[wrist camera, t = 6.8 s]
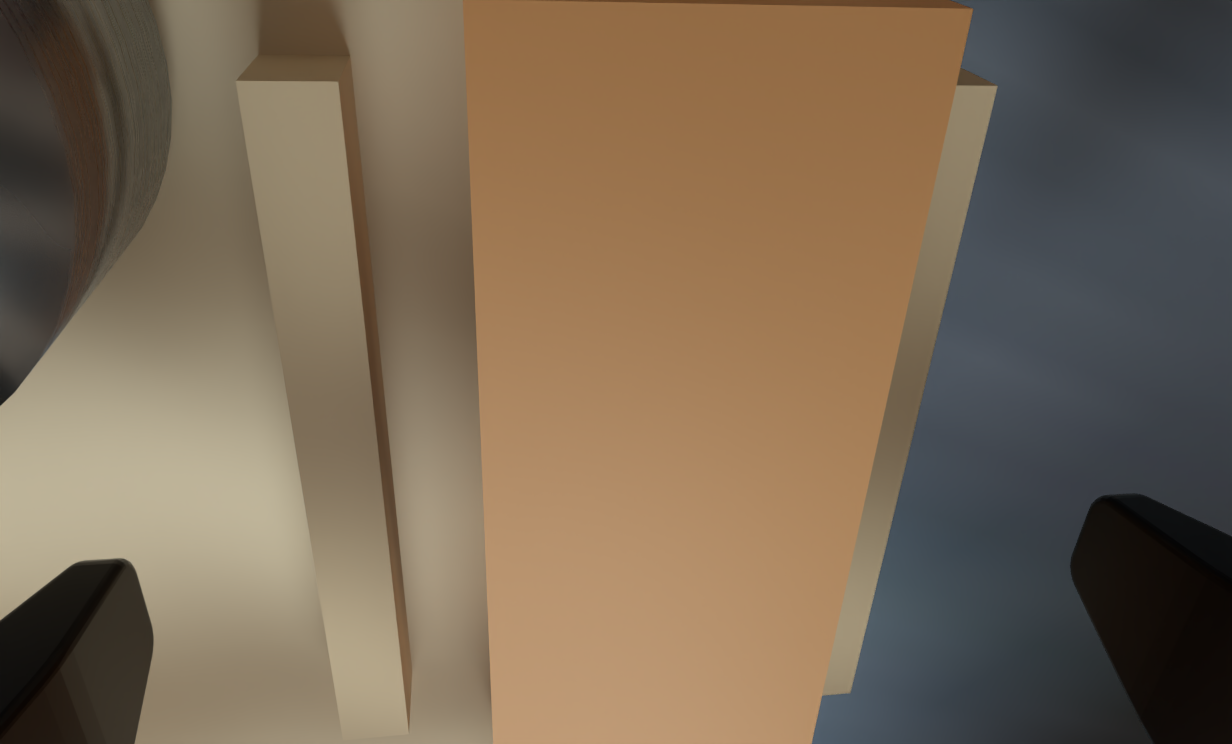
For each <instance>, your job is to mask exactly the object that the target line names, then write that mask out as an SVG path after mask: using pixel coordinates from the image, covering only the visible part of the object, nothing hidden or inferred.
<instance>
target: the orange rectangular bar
mask: <svg viewBox="0 0 1232 744" xmlns="http://www.w3.org/2000/svg"><path fill="white" fill-rule="evenodd" d="M972 13H973V9H972V8H970V7H967V6H964V5H961V4H959V3H956V2H953V1H950V0H463V19H464V44H465V68H466V93H467V117H468V142H469V166H470V191H471V215H472V240H473V264H474V288H475V313H476V337H477V362H478V386H479V411H480V435H481V460H482V484H483V509H484V533H485V558H486V582H487V607H488V631H489V656H490V680H491V704H492V729H493V744H812V739H813V734H814V730H815V725H816V721H817V716H818V712H819V707H820V703H821V698H822V694H823V689H824V685H825V680H826V675H827V671H828V666H829V662H830V657H831V653H832V648H833V644H834V639H835V635H836V630H837V625H838V621H839V616H840V612H841V607H842V603H843V598H844V594H845V589H846V585H847V580H848V576H849V571H850V566H851V562H852V557H853V553H854V548H855V544H856V539H857V535H858V530H859V526H860V521H861V517H862V512H863V507H864V503H865V498H866V494H867V489H868V485H869V480H870V476H871V471H872V467H873V462H874V458H875V453H876V448H877V444H878V439H879V435H880V430H881V426H882V421H883V417H884V412H885V408H886V403H887V398H888V394H889V389H890V385H891V380H892V376H893V371H894V367H895V362H896V358H897V353H898V349H899V344H900V339H901V335H902V330H903V326H904V321H905V317H906V312H907V308H908V303H909V299H910V294H911V290H912V285H913V280H914V276H915V271H916V267H917V262H918V258H919V253H920V249H921V244H922V240H923V235H924V231H925V226H926V221H927V217H928V212H929V208H930V203H931V199H932V194H933V190H934V185H935V181H936V176H937V172H938V167H939V162H940V158H941V153H942V149H943V144H944V140H945V135H946V131H947V126H948V122H949V117H950V112H951V108H952V103H953V99H954V94H955V90H956V85H957V81H958V76H959V72H960V67H961V63H962V58H963V53H964V49H965V44H966V40H967V35H968V31H969V26H970V22H971V17H972Z"/></svg>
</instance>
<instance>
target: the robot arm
mask: <svg viewBox="0 0 1232 744" xmlns="http://www.w3.org/2000/svg"><path fill="white" fill-rule="evenodd" d="M1070 568H1071V576H1072V580H1073V583H1074V585H1075V587H1076V590H1077V592H1078V594H1079V596H1080V598H1081V600H1082V602H1083V604H1084V606H1085V609H1086V611H1087V613H1088V615H1089V617H1090V619H1091V621H1092V623H1093V625H1094V628H1095V630H1096V632H1097V634H1098V636H1099V638H1100V640H1101V642H1102V644H1103V646H1104V649H1105V651H1106V653H1107V655H1108V657H1109V659H1110V661H1111V663H1112V665H1113V668H1114V670H1115V672H1116V674H1117V676H1118V678H1119V680H1120V682H1121V684H1122V687H1123V689H1124V691H1125V693H1126V695H1127V697H1128V699H1129V701H1130V703H1131V705H1132V707H1133V709H1134V711H1135V713H1136V715H1137V717H1138V719H1139V721H1140V722H1141V724H1142V726H1143V728H1144V729H1145V731H1146V733H1147V735H1148V736H1149V738H1150V740H1151V742H1152V744H1232V536H1230V535H1227V534H1225V533H1223V532H1221V531H1219V530H1217V529H1215V528H1213V527H1210V526H1208V525H1206V524H1204V523H1202V522H1200V521H1198V520H1196V519H1193V518H1191V517H1189V516H1187V515H1185V514H1183V513H1181V512H1179V511H1176V510H1174V509H1172V508H1170V507H1168V506H1166V505H1164V504H1162V503H1159V502H1157V501H1155V500H1153V499H1151V498H1149V497H1147V496H1144V495H1141V494H1117V495H1105V496H1101V497H1099V498H1097V499H1096V500H1095V501H1094V502H1093V503H1092V504H1091V506H1090V508H1089V511H1088V514H1087V516H1086V519H1085V522H1084V524H1083V527H1082V530H1081V532H1080V535H1079V538H1078V540H1077V543H1076V546H1075V548H1074V551H1073V554H1072V557H1071V564H1070ZM153 646H154V635H153V628H152V623H151V620H150V617H149V613H148V610H147V606H146V603H145V599H144V596H143V593H142V589H141V586H140V582H139V579H138V575H137V572H136V570H135V568H134V566H133V565H132V563H131V562H130V561H128V560H126V559H124V558H113V559H97V560H84V561H79V562H76V563H74V564H73V565H71V566H69V567H68V568H67V569H65V570H64V571H63V572H61V573H60V574H59V575H58V576H56V577H55V578H54V579H52V580H51V581H50V582H49V583H47V584H46V585H45V586H43V587H42V588H41V589H40V590H38V591H37V592H36V593H34V594H33V595H32V596H31V597H29V598H28V599H27V600H25V601H24V602H23V603H22V604H20V605H19V606H18V607H16V608H15V609H14V610H13V611H11V612H10V613H9V614H7V615H6V616H5V617H3V618H2V619H1V620H0V744H135V740H136V735H137V730H138V725H139V720H140V715H141V710H142V705H143V700H144V695H145V690H146V685H147V681H148V676H149V671H150V666H151V661H152V655H153Z"/></svg>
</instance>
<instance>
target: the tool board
mask: <svg viewBox="0 0 1232 744" xmlns="http://www.w3.org/2000/svg"><path fill="white" fill-rule="evenodd" d="M148 2H149V4H150V7H151V9H152V12H153V14H154V17H155V20H156V23H157V26H158V30H159V34H160V38H161V41H162V45H163V49H164V53H165V57H166V60H167V67H168V75H169V83H170V90H171V98H172V118H171V141H170V147H169V154H168V160H167V166H166V171H165V174H164V177H163V180H162V183H161V186H160V189H159V193H158V196H157V199H156V201H155V203H154V205H153V207H152V209H151V211H150V213H149V215H148V217H147V219H146V221H145V223H144V225H143V226H142V228H141V230H140V231H139V233H138V234H137V235H136V237H135V238H134V239H133V241H132V242H131V243H130V245H129V246H128V247H127V249H126V250H125V251H124V253H123V254H122V255H121V257H120V258H119V259H118V260H117V262H116V263H115V264H114V266H113V267H112V268H111V269H110V271H109V272H108V273H107V275H106V276H105V277H104V278H103V280H102V281H101V282H100V283H99V285H98V286H97V287H96V289H95V290H94V291H93V292H92V294H91V295H90V296H89V298H88V299H87V300H86V301H85V303H84V304H83V305H82V307H81V308H80V309H79V310H78V312H77V313H76V314H75V316H74V317H73V318H72V319H71V321H70V322H69V323H68V325H67V326H66V327H65V328H64V330H63V331H62V332H61V334H60V335H59V336H58V337H57V339H56V340H55V341H54V343H53V344H52V345H51V346H50V348H49V349H48V350H47V352H46V353H45V354H44V355H43V357H42V358H41V359H40V361H39V362H38V363H37V364H36V366H35V367H34V368H33V370H32V371H31V372H30V373H29V375H28V376H27V377H26V379H25V380H24V381H23V382H22V384H21V385H20V386H19V388H18V389H17V390H16V391H15V393H14V394H13V395H11V396H10V397H9V398H8V399H7V400H6V401H5V402H4V403H3V404H2V405H1V406H0V620H1V619H2V618H3V617H5V616H6V615H7V614H9V613H10V612H11V611H13V610H14V609H15V608H16V607H18V606H19V605H20V604H22V603H23V602H24V601H25V600H27V599H28V598H29V597H31V596H32V595H33V594H34V593H36V592H37V591H38V590H40V589H41V588H42V587H43V586H45V585H46V584H47V583H49V582H50V581H51V580H52V579H54V578H55V577H56V576H58V575H59V574H60V573H61V572H63V571H64V570H65V569H67V568H68V567H69V566H71V565H73V564H74V563H76V562H79V561H84V560H97V559H113V558H124V559H126V560H128V561H130V562H131V563H132V565H133V566H134V568H135V570H136V572H137V575H138V579H139V582H140V586H141V589H142V593H143V596H144V599H145V603H146V606H147V610H148V613H149V617H150V620H151V623H152V628H153V635H154V646H153V655H152V661H151V666H150V671H149V676H148V681H147V685H146V690H145V695H144V700H143V705H142V710H141V715H140V720H139V725H138V730H137V735H136V740H135V744H493V729H492V704H491V680H490V656H489V631H488V607H487V582H486V558H485V533H484V509H483V484H482V460H481V435H480V411H479V386H478V362H477V337H476V313H475V288H474V264H473V240H472V215H471V191H470V166H469V142H468V117H467V93H466V68H465V44H464V19H463V0H148ZM996 91H997V85H995V84H993V83H991V82H989V81H987V80H985V79H983V78H981V77H979V76H977V75H975V74H972V73H970V72H968V71H966V70H964V69H962V68H960V72H959V76H958V81H957V85H956V90H955V94H954V99H953V103H952V108H951V112H950V117H949V122H948V126H947V131H946V135H945V140H944V144H943V149H942V153H941V158H940V162H939V167H938V172H937V176H936V181H935V185H934V190H933V194H932V199H931V203H930V208H929V212H928V217H927V221H926V226H925V231H924V235H923V240H922V244H921V249H920V253H919V258H918V262H917V267H916V271H915V276H914V280H913V285H912V290H911V294H910V299H909V303H908V308H907V312H906V317H905V321H904V326H903V330H902V335H901V339H900V344H899V349H898V353H897V358H896V362H895V367H894V371H893V376H892V380H891V385H890V389H889V394H888V398H887V403H886V408H885V412H884V417H883V421H882V426H881V430H880V435H879V439H878V444H877V448H876V453H875V458H874V462H873V467H872V471H871V476H870V480H869V485H868V489H867V494H866V498H865V503H864V507H863V512H862V517H861V521H860V526H859V530H858V535H857V539H856V544H855V548H854V553H853V557H852V562H851V566H850V571H849V576H848V580H847V585H846V589H845V594H844V598H843V603H842V607H841V612H840V616H839V621H838V625H837V630H836V635H835V639H834V644H833V648H832V653H831V657H830V662H829V666H828V671H827V675H826V680H825V685H824V689H823V694H822V696H823V695H834V694H844V693H850V692H851V688H852V684H853V680H854V676H855V672H856V668H857V663H858V659H859V655H860V651H861V647H862V643H863V639H864V635H865V630H866V626H867V622H868V618H869V614H870V610H871V606H872V602H873V597H874V593H875V589H876V585H877V581H878V577H879V573H880V569H881V564H882V560H883V556H884V552H885V548H886V544H887V540H888V536H889V532H890V527H891V523H892V519H893V515H894V511H895V507H896V503H897V499H898V494H899V490H900V486H901V482H902V478H903V474H904V470H905V466H906V461H907V457H908V453H909V449H910V445H911V441H912V437H913V433H914V429H915V424H916V420H917V416H918V412H919V408H920V404H921V400H922V396H923V391H924V387H925V383H926V379H927V375H928V371H929V367H930V363H931V358H932V354H933V350H934V346H935V342H936V338H937V334H938V330H939V325H940V321H941V317H942V313H943V309H944V305H945V301H946V297H947V293H948V288H949V284H950V280H951V276H952V272H953V268H954V264H955V260H956V255H957V251H958V247H959V243H960V239H961V235H962V231H963V227H964V222H965V218H966V214H967V210H968V206H969V202H970V198H971V194H972V190H973V185H974V181H975V177H976V173H977V169H978V165H979V161H980V157H981V152H982V148H983V144H984V140H985V136H986V132H987V128H988V124H989V119H990V115H991V111H992V107H993V103H994V99H995V95H996Z"/></svg>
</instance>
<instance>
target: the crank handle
mask: <svg viewBox="0 0 1232 744" xmlns="http://www.w3.org/2000/svg"><path fill="white" fill-rule="evenodd" d="M171 118H172V98H171V90H170V83H169V75H168V67H167V60H166V57H165V53H164V49H163V45H162V41H161V38H160V34H159V30H158V26H157V23H156V20H155V17H154V14H153V12H152V9H151V7H150V4H149V2H148V0H0V406H1V405H2V404H3V403H4V402H5V401H6V400H7V399H8V398H9V397H10V396H11V395H13V394H14V393H15V391H16V390H17V389H18V388H19V386H20V385H21V384H22V382H23V381H24V380H25V379H26V377H27V376H28V375H29V373H30V372H31V371H32V370H33V368H34V367H35V366H36V364H37V363H38V362H39V361H40V359H41V358H42V357H43V355H44V354H45V353H46V352H47V350H48V349H49V348H50V346H51V345H52V344H53V343H54V341H55V340H56V339H57V337H58V336H59V335H60V334H61V332H62V331H63V330H64V328H65V327H66V326H67V325H68V323H69V322H70V321H71V319H72V318H73V317H74V316H75V314H76V313H77V312H78V310H79V309H80V308H81V307H82V305H83V304H84V303H85V301H86V300H87V299H88V298H89V296H90V295H91V294H92V292H93V291H94V290H95V289H96V287H97V286H98V285H99V283H100V282H101V281H102V280H103V278H104V277H105V276H106V275H107V273H108V272H109V271H110V269H111V268H112V267H113V266H114V264H115V263H116V262H117V260H118V259H119V258H120V257H121V255H122V254H123V253H124V251H125V250H126V249H127V247H128V246H129V245H130V243H131V242H132V241H133V239H134V238H135V237H136V235H137V234H138V233H139V231H140V230H141V228H142V226H143V225H144V223H145V221H146V219H147V217H148V215H149V213H150V211H151V209H152V207H153V205H154V203H155V201H156V199H157V196H158V193H159V189H160V186H161V183H162V180H163V177H164V174H165V171H166V166H167V160H168V154H169V147H170V141H171Z"/></svg>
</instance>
